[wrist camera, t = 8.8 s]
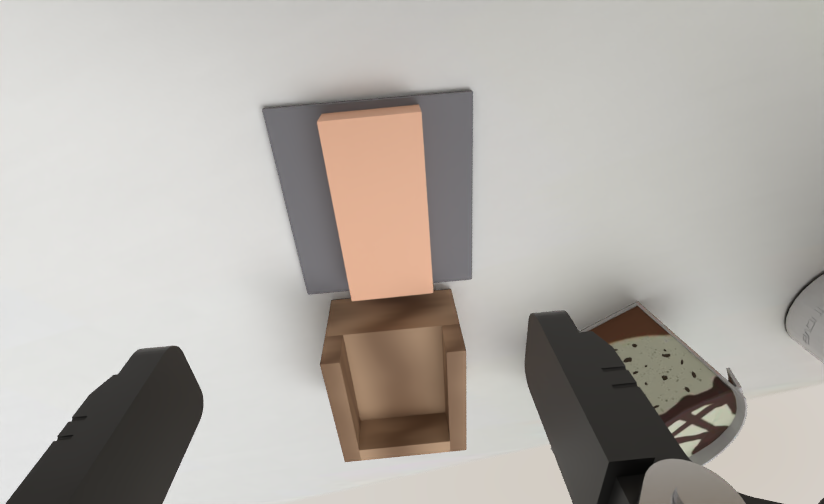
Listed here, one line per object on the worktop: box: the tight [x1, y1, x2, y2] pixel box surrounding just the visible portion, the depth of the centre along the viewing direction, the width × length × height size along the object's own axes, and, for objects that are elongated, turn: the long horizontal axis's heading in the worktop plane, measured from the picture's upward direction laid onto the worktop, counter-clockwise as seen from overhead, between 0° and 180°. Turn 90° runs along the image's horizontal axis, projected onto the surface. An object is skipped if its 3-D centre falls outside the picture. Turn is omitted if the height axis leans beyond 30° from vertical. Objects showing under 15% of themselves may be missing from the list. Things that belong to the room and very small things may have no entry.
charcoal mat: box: [262, 91, 473, 294], centre depth 27 cm, size 12×13×1 cm
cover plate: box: [317, 104, 433, 301], centre depth 26 cm, size 6×12×2 cm, turn 5°
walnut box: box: [320, 289, 466, 462], centre depth 31 cm, size 9×10×6 cm
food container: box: [551, 302, 747, 466], centre depth 31 cm, size 12×6×10 cm, turn 126°
